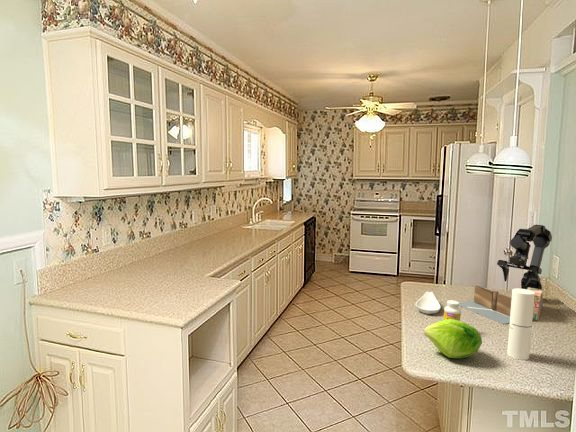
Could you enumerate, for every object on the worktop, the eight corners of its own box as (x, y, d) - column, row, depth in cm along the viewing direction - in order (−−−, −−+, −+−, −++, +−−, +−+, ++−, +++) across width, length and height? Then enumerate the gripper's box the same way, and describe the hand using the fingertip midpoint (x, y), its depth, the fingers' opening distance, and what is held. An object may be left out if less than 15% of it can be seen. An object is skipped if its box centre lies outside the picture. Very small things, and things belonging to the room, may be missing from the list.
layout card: (478, 300, 209) (478, 300, 208) (528, 320, 181) (528, 319, 181) (455, 303, 203) (455, 303, 203) (503, 324, 176) (503, 323, 176)
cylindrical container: (520, 361, 141) (526, 295, 138) (502, 353, 148) (507, 289, 145) (533, 357, 144) (539, 293, 141) (515, 349, 150) (520, 287, 148)
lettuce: (420, 344, 155) (428, 310, 156) (474, 360, 148) (482, 325, 149) (420, 350, 141) (428, 313, 142) (480, 369, 134) (488, 330, 135)
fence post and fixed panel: (494, 309, 195) (495, 291, 194) (522, 320, 180) (523, 300, 179) (490, 309, 194) (492, 291, 193) (518, 320, 180) (519, 301, 179)
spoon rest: (440, 318, 183) (441, 303, 182) (414, 314, 187) (415, 300, 187) (440, 303, 205) (441, 289, 204) (417, 300, 209) (417, 287, 209)
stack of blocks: (527, 306, 201) (529, 283, 199) (541, 308, 197) (544, 285, 196) (522, 317, 184) (525, 292, 182) (538, 320, 180) (540, 295, 179)
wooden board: (475, 301, 205) (476, 285, 204) (493, 308, 195) (494, 291, 194) (473, 301, 205) (474, 286, 204) (490, 308, 194) (492, 292, 193)
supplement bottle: (443, 332, 167) (444, 303, 165) (442, 326, 173) (444, 298, 171) (460, 334, 164) (462, 305, 163) (459, 328, 170) (460, 300, 169)
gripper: (496, 246, 196) (489, 276, 193) (538, 252, 181) (531, 284, 179) (504, 251, 203) (497, 280, 201) (544, 258, 188) (538, 289, 186)
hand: (515, 283), depth 192 cm, fingers open, 9 cm apart
